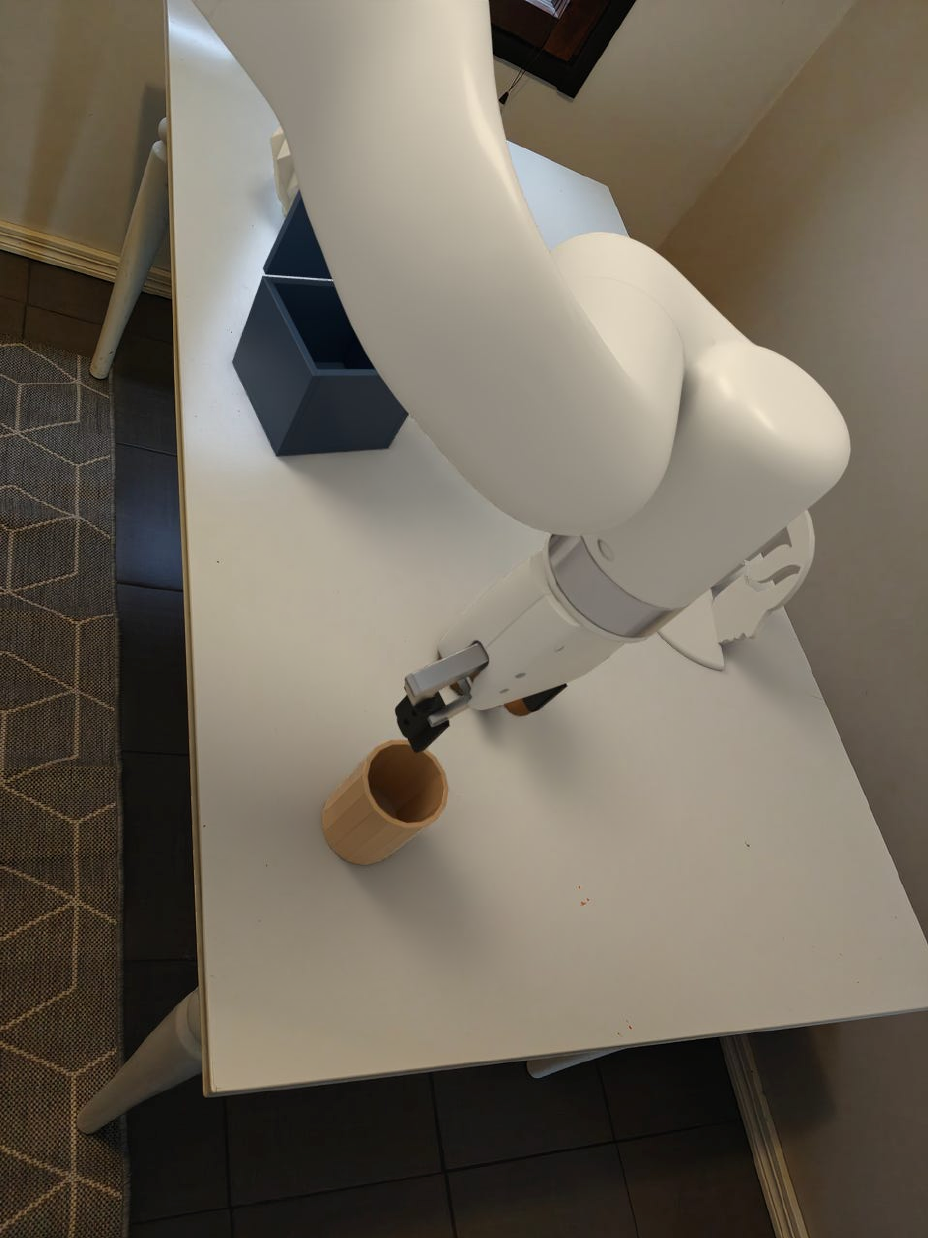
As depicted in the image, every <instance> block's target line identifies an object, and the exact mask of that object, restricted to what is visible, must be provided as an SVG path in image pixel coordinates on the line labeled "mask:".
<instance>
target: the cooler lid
mask: <svg viewBox="0 0 928 1238" xmlns="http://www.w3.org/2000/svg"><path fill="white" fill-rule="evenodd" d="M262 270H263V273H264V276H275V277H288V278H302V279H316V280H329V281H333V280H332V277H331V275H330V272H329V269H328V266H327V264H326V261H325V258H324V256H323V253H322V250H321V248H320V245H319V243H318V240H317V238H316V235H315V232H314V230H313V227H312V224H311V222H310V219H309V217H308V214H307V211H306V208H305V205H304V202H303V199H302V196H301V192H300V189H299V190H298V192H297V194H296V197H295V199H294V201H293V203H292V205H291V207H290V210H289V212H288V214H287V216H285V219H284V221H283V222H282V225H281V227H280V230H279V231H278V234H277V236H276V238H275V241H274V243H273V244H272V247H271V248H270V251H269V253H268V256H267V257H266V260H265V262H264V264H263V267H262Z"/></svg>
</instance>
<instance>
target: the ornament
mask: <svg viewBox="0 0 928 1238" xmlns="http://www.w3.org/2000/svg"><path fill="white" fill-rule="evenodd" d="M786 530H787V533H788V537H789V541H790V544H791V545H789V544H781V545H778V546H777V547H775V548H774V549H773V550H771V551H770V552H769V553H767V554H766V555H764V557H763V558H761V559H760V560H758V561H757V562H756V563H755V564H753V566H751V567H750V568H749V569H748V570H747V571H746V572H747V574H744V573H742V574H741V575H740V576H739V577H738V578H737V579H735V580H734V581H733V582H731V583H730V584H728V586H727V587H725V588H724V589H723V590H722V591H720V592H719V593H718V594H717V595H716V597H715V598H714V597H713V592H712V587H711V588H710V589H709V590H707V591H706V592H705V593H704V594H703V595H701V596H700V597H699V598H698V599H696V600H695V601H694V602H692V603H691V604H690V605H689V606H688V607H687V608H685V609H684V610H683V611H682V612H681V613H679V614H678V615H677V616H676V617H674V618H673V619H672V620H671V621H670V622H668V623H667V624H666V625H665V626H663V627H662V628H661V629H660V630H659V631H657V632H656V633H657V634H658V636H660V637H661V638H662V639H663V640H664V641H665V642H666V643H667V644H668V645H670V646H671V647H672V648H673V649H675V650H676V651H677V652H679V654H681V655H683V656H684V657H686V658H687V659H689V660H691V661H693V662H695V663H696V664H698V665H700V666H703V667H706V668H709V669H711V670H715V671H723V670H724V669H725V661H724V660H725V659H724V654H723V648H722V645H727V644H728V643H730V642H733V643H738V642H739V641H744V640H746V638H749V639H751V640H755V639H756V638H757V637H758V636H759V634H760V632H761V630H762V629H763V626H764V624H765V623H766V621H767V620H768V618H769V617H770V615H771V614H772V613H773V612H776V611H778V610H780V609H781V608H783V606H785V605H786V604H787V603H788V602H789V601H790V600H791V599H792V597H794V595H795V594H796V593H797V592H798V590H799V589H800V587H801V586H802V585H803V583H804V581H805V579H806V578H807V575H808V574H809V571H810V568H811V567H812V563H813V559H814V554H815V546H816V545H815V544H816V536H815V535H816V534H815V530H814V524H813V520H812V516H811V514H810V512H809V508H808V509H807V510H805V511H804V512H803V513H802V514H801V515H799V516H798V517H797V518H796V519H794V520H793V521H792V522H791V523H790V524H788V525H787V526H786V527H785V528H783V529H782V530H781V531H780V532H779V533H777V534H776V535H775V536H774V537H772V538H771V539H770V540H769V541H767V542H766V543H765V544H764V545H763V546H761V547H760V548H759V549H758V550H756V551H755V552H754V553H753V554H752V555H750V556H749V557H748V558H747V559H745V560H744V561H743V562H742V563H741V564H739V565H738V566H737V567H736V568H734V569H733V570H732V571H731V572H730V573H728V574H727V575H726V576H725V577H723V578H722V579H721V580H720V581H719V582H717V583H716V584H715V585H714V586H713V587H715V586H719V585H722V584H723V583H725V582H726V581H727V580H728V579H730V578H732V577H733V576H734V575H735V574H736V573H737V572H739V571H740V570H741V569H742V568H744V567H746V561H747V562H751V561H753V560H754V559H755V558H756V557H757V556H759V555H760V554H761V553H763V552H764V551H765V550H767V548H769V547H770V546H771V545H773V544H774V543H775V542H776V541H777V540H778V539H780V538H781V537H782V535H783V534H784V533H785V532H786ZM797 567H798V568H799V571H798V573H793V574H790V575H788V576H787V577H784V579H782V580H781V581H779V582H778V583H777V584H775V585H774V586H771V587H769V588H768V589H765V590H762V591H757V590H756V589H755V588H754V587H752V585H751V583H750V580H752V581H754V582H756V583H759V584H766V583H769V582H771V581H773V580H775V579H776V578H777V577H779V576H780V575H782V574H783V573H785V572H787V571H788V570H790V569H791V570H792V569H793V568H797Z"/></svg>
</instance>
